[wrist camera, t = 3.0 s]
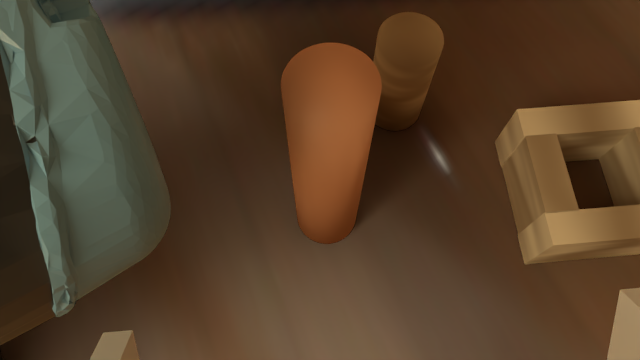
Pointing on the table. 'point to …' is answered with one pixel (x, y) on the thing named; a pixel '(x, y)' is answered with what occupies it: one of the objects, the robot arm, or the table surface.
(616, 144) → the collar block
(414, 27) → the short dowel
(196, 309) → the table surface
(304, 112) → the long dowel
